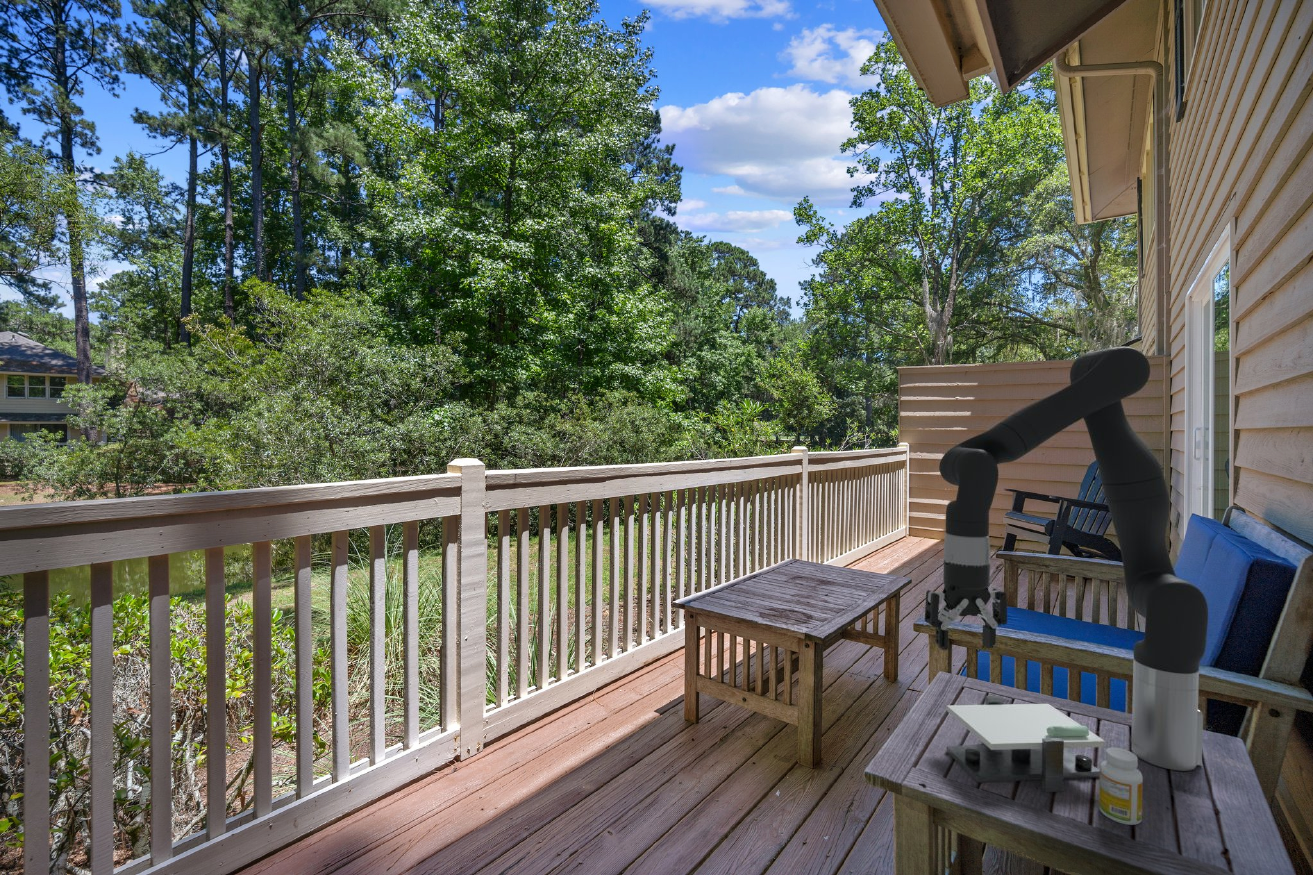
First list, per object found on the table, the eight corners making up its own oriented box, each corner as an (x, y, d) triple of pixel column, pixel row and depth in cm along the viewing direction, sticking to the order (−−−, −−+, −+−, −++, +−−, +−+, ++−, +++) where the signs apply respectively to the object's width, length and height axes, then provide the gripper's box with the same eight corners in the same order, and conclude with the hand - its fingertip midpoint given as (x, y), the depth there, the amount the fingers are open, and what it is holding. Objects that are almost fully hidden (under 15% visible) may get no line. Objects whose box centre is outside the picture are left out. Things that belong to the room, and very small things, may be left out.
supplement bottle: (1123, 804, 101) (1125, 744, 101) (1150, 825, 96) (1152, 762, 96) (1090, 804, 101) (1092, 744, 101) (1116, 826, 96) (1117, 763, 96)
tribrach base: (1046, 737, 122) (1047, 693, 122) (1117, 788, 105) (1118, 738, 105) (936, 741, 121) (937, 697, 121) (990, 794, 104) (991, 743, 104)
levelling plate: (1047, 708, 121) (1048, 694, 121) (1105, 746, 107) (1105, 731, 107) (946, 710, 119) (947, 696, 119) (991, 749, 105) (991, 733, 105)
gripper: (991, 553, 119) (990, 639, 119) (918, 555, 117) (917, 641, 118) (1017, 562, 111) (1016, 654, 112) (939, 564, 110) (938, 657, 110)
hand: (965, 647), depth 115 cm, fingers open, 8 cm apart
